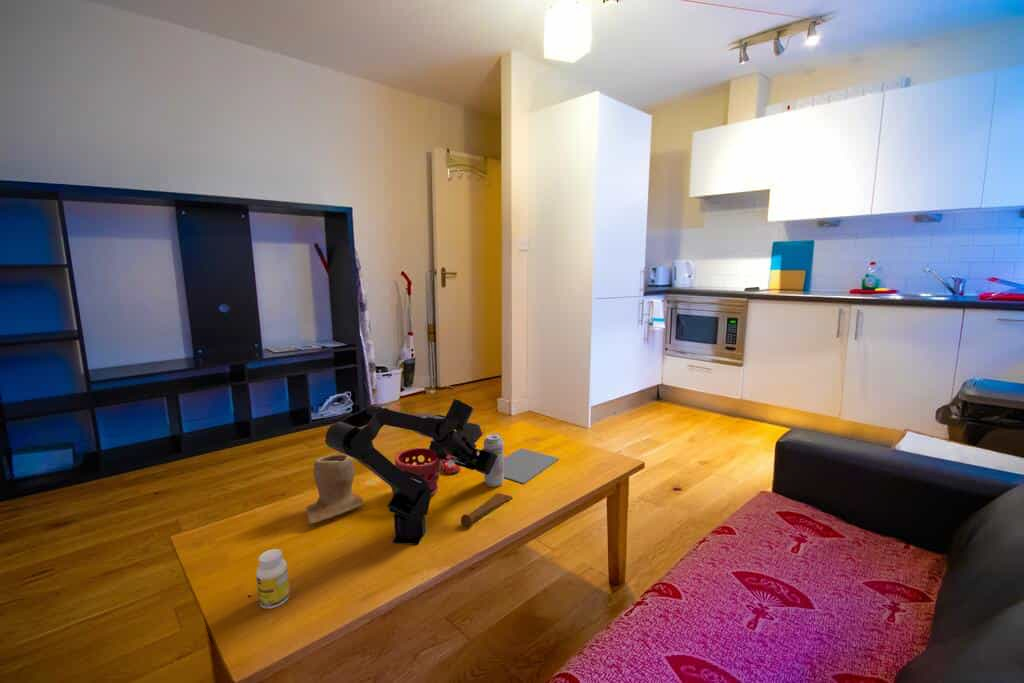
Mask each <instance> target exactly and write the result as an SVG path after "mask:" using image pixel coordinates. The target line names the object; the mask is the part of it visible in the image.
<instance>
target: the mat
mask: <svg viewBox="0 0 1024 683" xmlns="http://www.w3.org/2000/svg"><path fill="white" fill-rule="evenodd" d="M559 460H560V458H559V457H556V456H552V455H549V454H545V453H541V452H537V451H533V450H531V449H527V448H522V447H521V448H519V449H517V450H515V451H514V452H512V453H511V454H509V455H507V456H504V479H507V480H510V481H513V482H516V483H519V484H523V485H525V484H527V483H528V482H529V481H531V480H532V479H534V478H535V477H536V476H538V475H539V474H541V473H542V472H544V471H545V470H546V469H548V468H549V467H551V466H552V465H553V464H555V463H557V462H558V461H559Z"/></svg>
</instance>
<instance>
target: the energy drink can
mask: <svg viewBox="0 0 1024 683" xmlns="http://www.w3.org/2000/svg"><path fill="white" fill-rule="evenodd" d="M484 448H485V449H488V450H492V451H494V452H495V453H496V454H497V458H496V461H495V463H494V465H493V467H492V469H491V472H490V474H488V475H486V474H483V475H484V482H485V484H486V485H487V486H488V487H491V488H495V487H496V486H497V487H500V486H501V485H503V482H504V481H505V478H504V458H505V456H504V451H505V450H504V440H503V439H502V435H501V434H499V433H489V434H487V435H485V438H484V440H483V449H484Z"/></svg>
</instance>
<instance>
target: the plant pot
mask: <svg viewBox="0 0 1024 683" xmlns="http://www.w3.org/2000/svg"><path fill="white" fill-rule="evenodd" d="M420 456H422V457H423V461H420V460H419V457H420ZM414 457H415V458H414ZM407 458H408V460H407V461H406V459H407ZM414 463H415V464H414ZM394 465H395V466H396V467H398V468H399V469H400V470H401V471H402V472H404V470H407V471H410V472H412V473H415V474H418V475H420V476H422V477H423V478H424V480H425V481H426V482H429V483H430V484H429V485H428V486H430V488H431V498H432V497H434V496H435V494H436V493H437V492H438V489H439V486H438V482H439V479H440V474H441V470H442V468H441V459H440V458H438V457H437V456H436V452H435V451H432V450H430V449H429V448H428V447H413V448H408V449H404V450H402V451H400V452H398V453H397V454H396V455H395V457H394Z"/></svg>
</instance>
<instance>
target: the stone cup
mask: <svg viewBox="0 0 1024 683" xmlns="http://www.w3.org/2000/svg"><path fill="white" fill-rule="evenodd" d="M313 465H314V466H313V477H314V481H315V484H316V488H317V491H318V499H317V501H316V502H315V503H312V504H309V505H307V506H306V507H305V508H306V509H305V510H306V516H307V521H308V523H309V524H310V525H312V524H316V523H318V522H319V523H320V522H322V521H326V520H329V519H331V518H334V517H337V516H339V515H342V514H344V513H347V512H350V511H352V510H354V509H357V508H359V507H361V506H362V505H363V504H364V500H363V497H361V496H360V495H357V494H356V493H352V492H353V491H352V486H353V482H354V477H355V461H354V458H352V457H350V456H348V455H345V454H343V453H340V454H339V453H338V454H332V455H331V454H329V455H326V456H323V457H320V458H318V459H316V460H315V462H314V464H313Z"/></svg>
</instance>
